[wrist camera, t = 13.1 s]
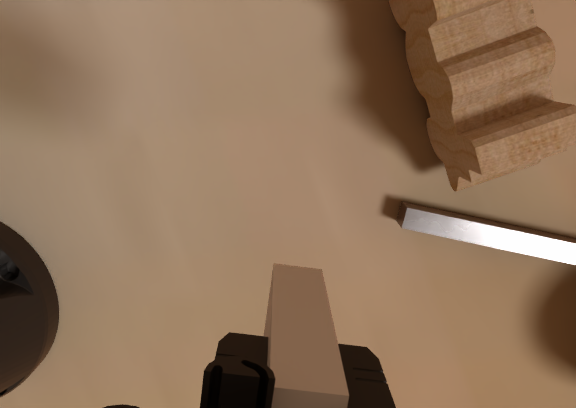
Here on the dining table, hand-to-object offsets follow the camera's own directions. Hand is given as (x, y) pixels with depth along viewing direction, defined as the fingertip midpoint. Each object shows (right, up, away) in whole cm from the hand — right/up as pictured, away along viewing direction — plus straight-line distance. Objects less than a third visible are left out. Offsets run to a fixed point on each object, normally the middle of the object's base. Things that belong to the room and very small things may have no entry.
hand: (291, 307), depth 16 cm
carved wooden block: (+11, +13, +20) cm, 26 cm away
